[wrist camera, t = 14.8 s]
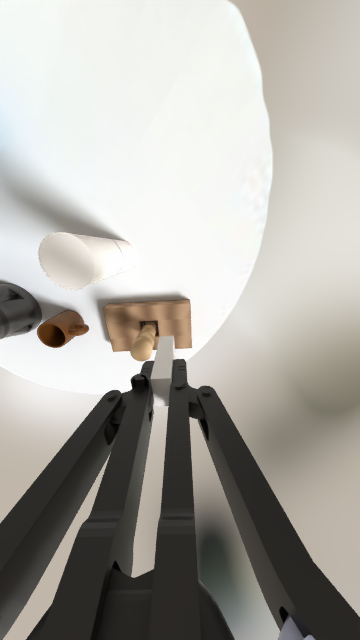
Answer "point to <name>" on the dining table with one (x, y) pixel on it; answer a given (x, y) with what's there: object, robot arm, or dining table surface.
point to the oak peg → (144, 342)
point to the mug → (61, 329)
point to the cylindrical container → (83, 258)
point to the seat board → (130, 316)
